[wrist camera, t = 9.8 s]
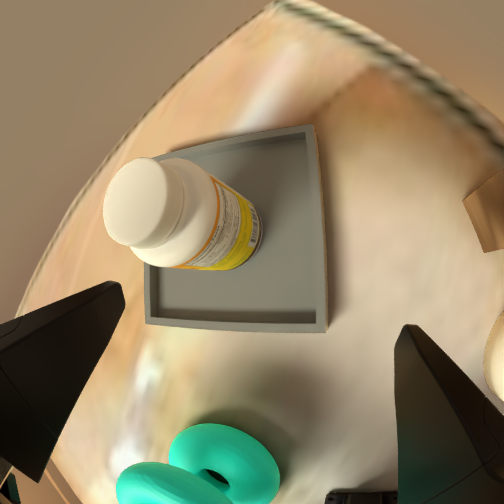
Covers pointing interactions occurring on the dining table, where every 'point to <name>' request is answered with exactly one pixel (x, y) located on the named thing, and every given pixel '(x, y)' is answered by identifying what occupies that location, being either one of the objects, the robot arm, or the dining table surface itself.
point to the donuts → (204, 471)
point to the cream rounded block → (495, 359)
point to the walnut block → (488, 212)
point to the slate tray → (271, 246)
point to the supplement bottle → (180, 216)
